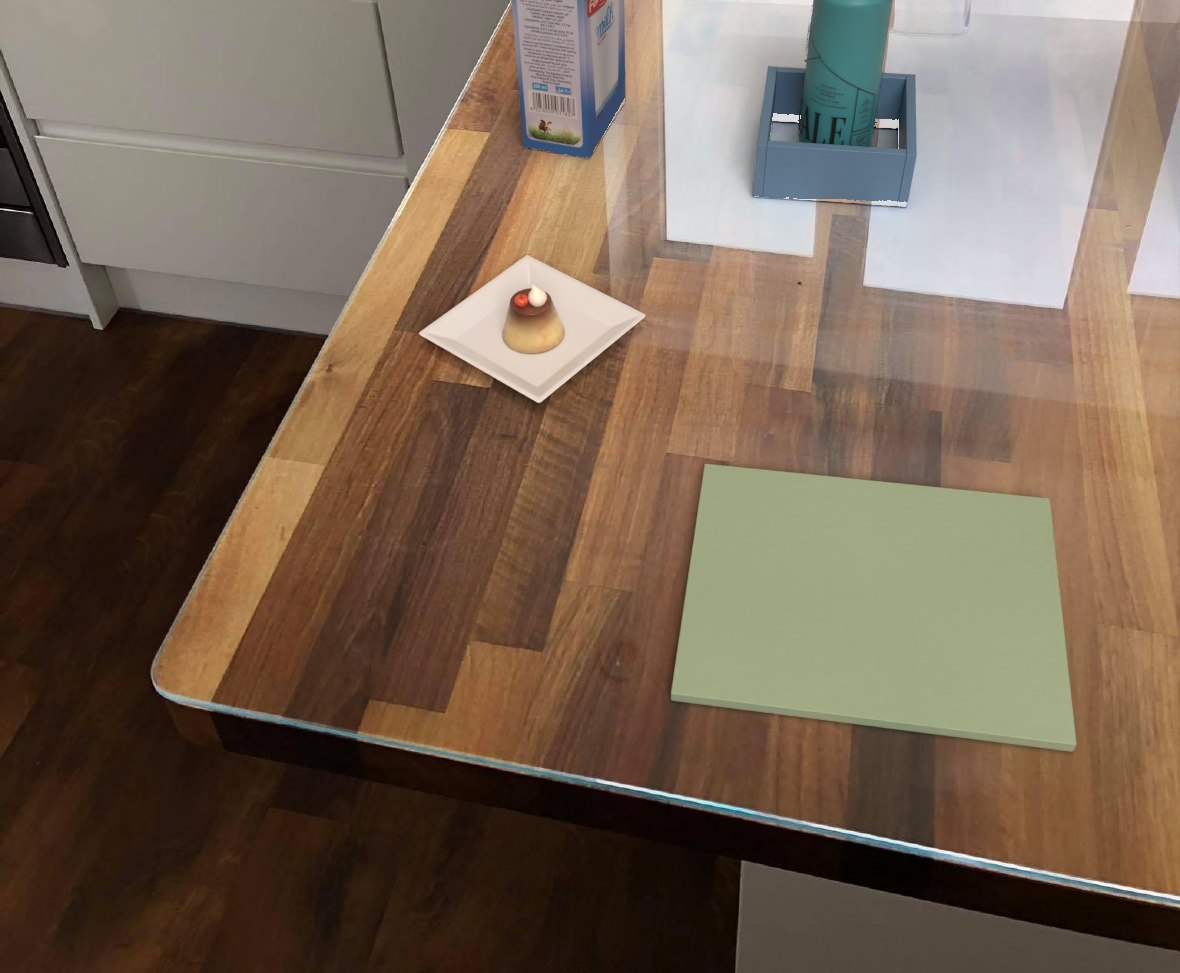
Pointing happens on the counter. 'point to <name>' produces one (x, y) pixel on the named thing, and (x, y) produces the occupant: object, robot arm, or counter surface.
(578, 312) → the dessert
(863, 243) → the counter surface
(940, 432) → the counter surface
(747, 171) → the counter surface
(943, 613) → the mat
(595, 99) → the milk carton
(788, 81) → the box
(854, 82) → the beverage bottle
